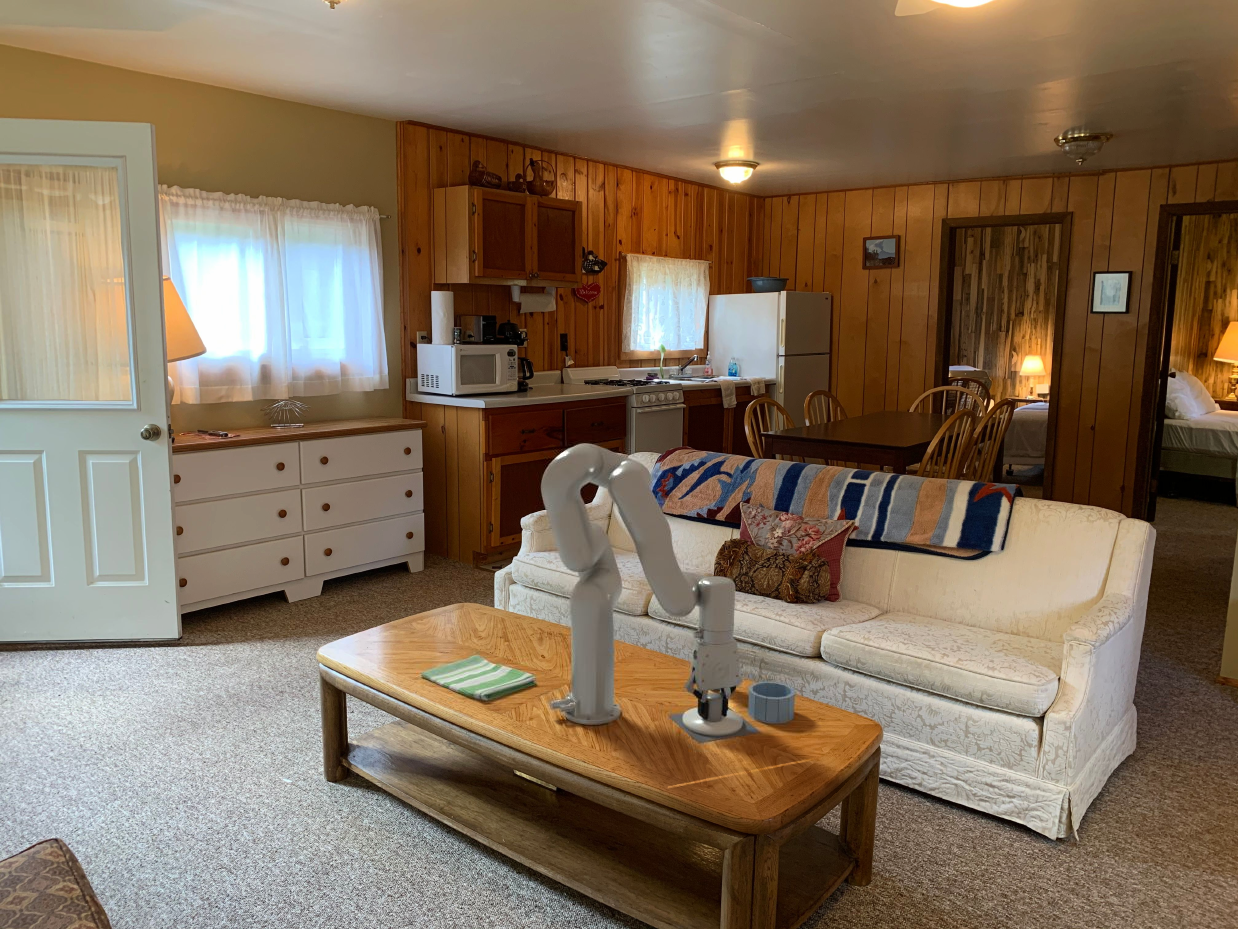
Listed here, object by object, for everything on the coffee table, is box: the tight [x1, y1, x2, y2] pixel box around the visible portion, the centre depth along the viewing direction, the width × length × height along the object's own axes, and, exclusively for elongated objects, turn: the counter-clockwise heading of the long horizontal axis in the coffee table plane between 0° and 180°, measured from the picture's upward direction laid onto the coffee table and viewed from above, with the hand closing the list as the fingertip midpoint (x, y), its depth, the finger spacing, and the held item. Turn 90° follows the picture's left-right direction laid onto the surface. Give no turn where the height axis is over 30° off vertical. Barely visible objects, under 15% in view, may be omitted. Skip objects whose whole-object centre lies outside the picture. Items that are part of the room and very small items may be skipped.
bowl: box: [747, 680, 796, 725], centre depth 207 cm, size 10×10×6 cm
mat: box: [667, 706, 762, 744], centre depth 202 cm, size 15×15×1 cm
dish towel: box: [420, 654, 538, 702], centre depth 226 cm, size 18×23×3 cm
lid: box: [683, 692, 743, 736], centre depth 202 cm, size 13×13×6 cm
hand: (712, 715), depth 202 cm, fingers closed on lid, 4 cm apart
